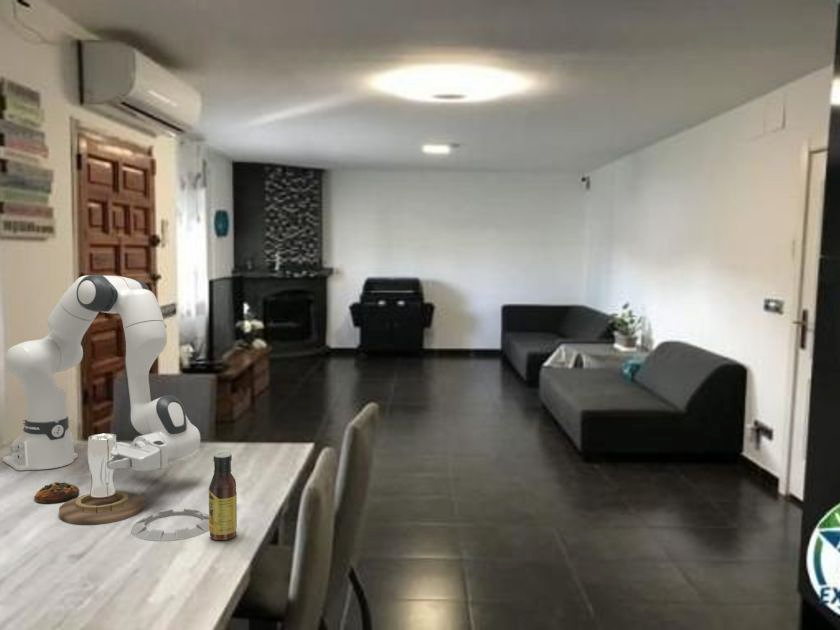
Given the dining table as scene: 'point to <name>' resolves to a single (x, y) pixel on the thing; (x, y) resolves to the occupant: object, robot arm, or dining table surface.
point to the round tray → (101, 517)
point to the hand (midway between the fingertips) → (99, 463)
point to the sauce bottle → (222, 499)
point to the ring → (180, 534)
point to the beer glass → (102, 464)
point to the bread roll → (57, 493)
